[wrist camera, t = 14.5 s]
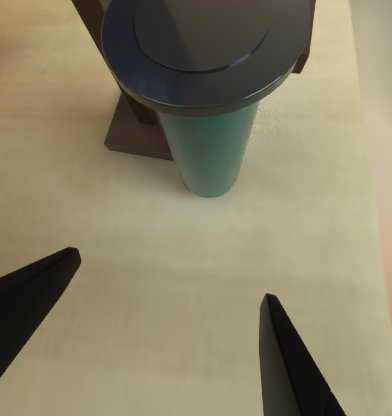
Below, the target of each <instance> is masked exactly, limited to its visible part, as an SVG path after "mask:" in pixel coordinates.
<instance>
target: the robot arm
mask: <svg viewBox="0 0 392 416" xmlns="http://www.w3.org/2000/svg"><path fill="white" fill-rule="evenodd" d="M80 264H81V257H80V254H79V250H78V249H77V248H73V247H67V248H65V249H63V250H61V251H58V252H56V253H54V254H52V255H49V256H47V257H45V258H43V259H40V260H38V261H36V262H34V263H32V264H29V265H27V266H25V267H23V268H20V269H18V270H16V271H14V272H12V273H9V274H7V275H5V276H3V277H0V377H1V376H2V375H3V373H4V372H5V371H6V369H7V368H8V367H9V365H10V364H11V363H12V361H13V360H14V359H15V357H16V356H17V355H18V353H19V352H20V351H21V349H22V348H23V346H24V345H25V344H26V342H27V341H28V340H29V338H30V337H31V336H32V334H33V333H34V332H35V330H36V329H37V328H38V326H39V325H40V324H41V322H42V321H43V320H44V318H45V317H46V316H47V314H48V313H49V312H50V310H51V309H52V307H53V306H54V305H55V303H56V302H57V301H58V299H59V298H60V297H61V295H62V294H63V292H64V291H65V289H66V288H67V286H68V284H69V283H70V281H71V279H72V278H73V276H74V274H75V273H76V271H77V270H78V268H79V266H80ZM259 357H260V371H261V384H262V398H263V412H264V416H346V415H345V413H344V411H343V410H342V408H341V406H340V405H339V403H338V401H337V399H336V398H335V396H334V394H333V393H332V392H331V389H330V387H329V386H328V384H327V382H326V381H325V379H324V377H323V375H322V374H321V372H320V370H319V369H318V367H317V365H316V363H315V362H314V360H313V358H312V357H311V355H310V353H309V351H308V350H307V348H306V346H305V344H304V343H303V341H302V339H301V338H300V336H299V334H298V332H297V331H296V329H295V327H294V326H293V324H292V322H291V320H290V319H289V317H288V315H287V313H286V312H285V310H284V308H283V307H282V305H281V303H280V301H279V300H278V298H277V297H276V296H275V295H272V294H268V293H267V294H265V296H264V298H263V301H262V303H261V306H260V326H259Z"/></svg>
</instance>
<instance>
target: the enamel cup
mask: <svg viewBox="0 0 392 416" xmlns="http://www.w3.org/2000/svg"><path fill="white" fill-rule="evenodd" d="M310 20H311V17H310V7H309V3H308V0H111V1H110V3H109V5H108V7H107V9H106V12H105V15H104V17H103V22H102V27H101V44H102V51H103V54H104V57H105V60H106V62H107V64H108V66H109V68H110V70H111V72H112V74H113V76H114V77H115V79H116V80H117V82H118V83H119V85H120V86H121V87H122V88H123V89H124V90H125V91H126V92H127V93H128V94H129V95H130V96H131V97H133V98H134V99H135V100H137V101H138V102H140V103H141V104H143V105H145V106H147V107H149V108H151V109H153V110H154V112H155V115H156V117H157V120H158V122H159V125H160V127H161V130H162V132H163V134H164V137H165V139H166V142H167V144H168V147H169V149H170V152H171V154H172V157H173V159H174V162H175V164H176V166H177V169H178V171H179V174H180V176H181V179H182V181H183V183H184V185H185V186H186V188H187V189H188V190H189V191H191V192H192V193H193V194H195V195H197V196H200V197H205V198H212V197H217V196H220V195H223V194H224V193H226V192H227V191H229V190H230V189H231V188H232V187H233V185H234V184H235V182H236V180H237V177H238V173H239V170H240V167H241V163H242V160H243V156H244V153H245V150H246V146H247V143H248V139H249V136H250V133H251V129H252V126H253V123H254V119H255V116H256V112H257V109H258V106H259V102H260V100H261V99H263V98H264V97H266V96H267V95H269V94H270V93H272V92H273V91H274V90H275V89H276V88H277V87H279V86H280V85H281V84H282V83H283V82H284V81H285V79H286V78H287V77H288V76H289V75H290V74H291V72H292V71H293V69H294V68H295V66H296V64H297V63H298V60H299V58H300V56H301V54H302V51H303V49H304V47H305V44H306V42H307V39H308V35H309V31H310Z"/></svg>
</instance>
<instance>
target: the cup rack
mask: <svg viewBox="0 0 392 416" xmlns="http://www.w3.org/2000/svg"><path fill="white" fill-rule="evenodd" d="M71 1H72V2H73V4H74V6H75V8H76V10H77V11H78V13H79V15H80V17H81V19H82V21H83V22H84V24H85V26H86V28H87V30H88V31H89V33H90V35H91V37H92V39H93V40H94V42H95V44H96V46H97V48H98V50H99V51H100V53H101V55H102V57H103V59H104V60H105V57H104V54H103V51H102V44H101V27H102V22H103V17H104V15H105V12H106V9H107V7H108V5H109V3H110V1H111V0H71ZM308 3H309V7H310V17H311V20H310V31H309V35H308V39H307V42H306V44H305V47H304V49H303V51H302V54H301V56H300V58H299V60H298V63H297V64H296V66H295V68H294V69H293V71H292V72H291V73H297V74H300V73H301V72H302V70H303V67H304V65H305V63H306V61H307V59H308V57H309V53H310V45H311V36H312V28H313V19H314V11H315V3H316V0H308ZM105 62H106V60H105ZM106 64H107V62H106ZM107 66H108V64H107ZM108 68H109V66H108ZM109 69H110V68H109ZM110 71H111V70H110ZM111 73H112V72H111ZM112 75H113V74H112ZM113 77H114V76H113ZM114 79H115V77H114ZM115 80H116V79H115ZM116 82H117V80H116ZM117 84H118V86H119V88H120V89H121V91H122V93H121V96H120V99H119V102H118V105H117V108H116V110H115V113H114V116H113V119H112V122H111V125H110V128H109V131H108V134H107V137H106V140H105V142H104V145H105V146H106V147H107V148H108V149H109V150H114V151H120V152H126V153H132V154H138V155H144V156H151V157H157V158H163V159H169V160H174V159H173V157H172V154H171V152H170V149H169V147H168V144H167V142H166V139H165V137H164V134H163V132H162V130H161V127H160V125H159V122H158V120H157V117H156V115H155V112H154V110H153V109H151V108H149V107H147V106H145V105H143V104H141V103H140V102H138V101H137V100H135V99H134V98H133V97H131V96H130V95H129V94H128V93H127V92H126V91H125V90H124V89H123V88H122V87H121V86H120V85H119V83H118V82H117Z"/></svg>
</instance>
